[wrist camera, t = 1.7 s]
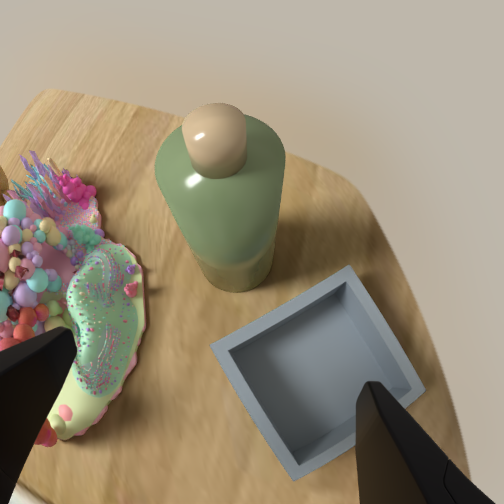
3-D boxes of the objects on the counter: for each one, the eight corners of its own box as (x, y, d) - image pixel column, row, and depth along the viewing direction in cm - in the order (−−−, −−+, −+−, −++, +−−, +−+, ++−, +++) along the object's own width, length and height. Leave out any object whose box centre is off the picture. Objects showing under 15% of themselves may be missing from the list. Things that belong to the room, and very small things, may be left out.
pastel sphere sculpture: (-50, 344, 21) (-105, 327, 12) (20, 170, 29) (-20, 125, 20) (106, 473, 18) (41, 507, 9) (196, 213, 26) (170, 140, 17)
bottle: (220, 305, 22) (171, 213, 9) (188, 244, 24) (126, 114, 11) (286, 269, 23) (319, 144, 10) (250, 212, 25) (243, 67, 12)
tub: (287, 463, 18) (293, 481, 14) (217, 349, 21) (209, 344, 17) (400, 388, 20) (426, 390, 16) (335, 281, 23) (349, 264, 19)
